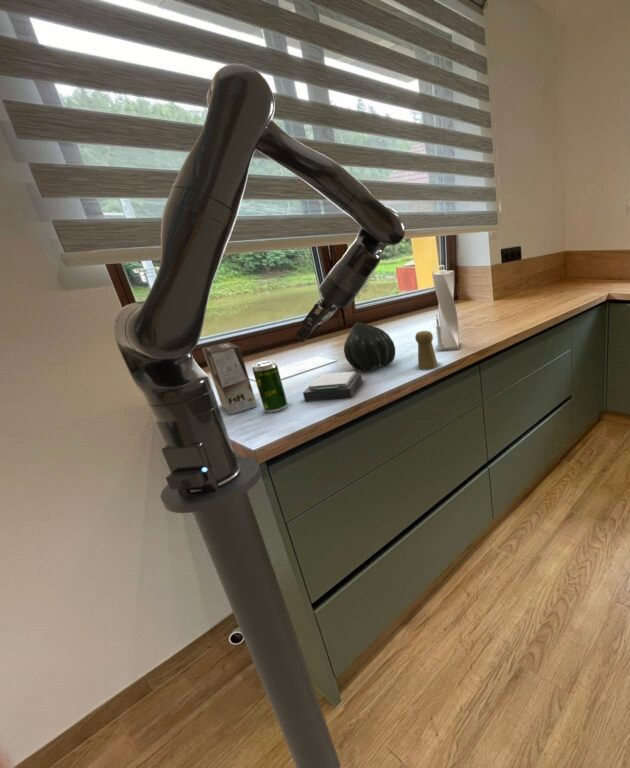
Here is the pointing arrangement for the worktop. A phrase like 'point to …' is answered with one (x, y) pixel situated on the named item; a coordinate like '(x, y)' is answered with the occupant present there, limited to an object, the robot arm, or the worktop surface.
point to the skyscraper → (446, 310)
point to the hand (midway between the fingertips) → (305, 334)
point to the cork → (425, 350)
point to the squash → (368, 347)
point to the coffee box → (230, 377)
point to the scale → (333, 386)
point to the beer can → (270, 386)
